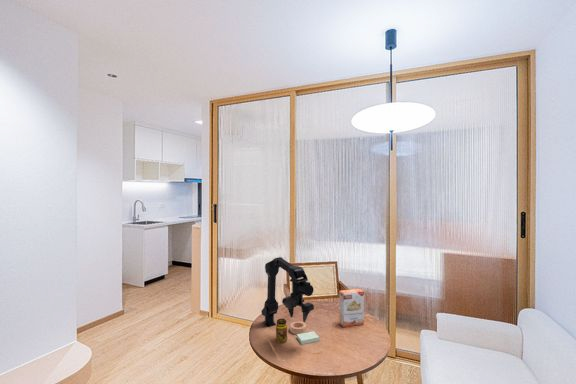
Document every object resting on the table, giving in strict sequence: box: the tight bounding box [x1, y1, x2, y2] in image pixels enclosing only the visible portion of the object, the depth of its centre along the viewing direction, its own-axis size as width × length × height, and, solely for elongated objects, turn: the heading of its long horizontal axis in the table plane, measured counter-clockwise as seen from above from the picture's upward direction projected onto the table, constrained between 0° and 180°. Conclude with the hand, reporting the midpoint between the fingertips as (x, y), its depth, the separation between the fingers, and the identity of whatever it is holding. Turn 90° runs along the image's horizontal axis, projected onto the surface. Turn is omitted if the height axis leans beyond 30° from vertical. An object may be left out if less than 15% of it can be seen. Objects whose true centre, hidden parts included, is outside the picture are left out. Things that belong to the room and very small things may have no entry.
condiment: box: [275, 318, 288, 344], centre depth 158 cm, size 7×8×12 cm
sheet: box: [296, 330, 320, 345], centre depth 158 cm, size 7×10×2 cm
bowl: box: [289, 321, 307, 336], centre depth 168 cm, size 9×9×4 cm
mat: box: [295, 337, 321, 346], centre depth 158 cm, size 8×12×1 cm
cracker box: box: [339, 288, 365, 328], centre depth 177 cm, size 14×6×21 cm, turn 105°
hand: (297, 319), depth 156 cm, fingers open, 9 cm apart
